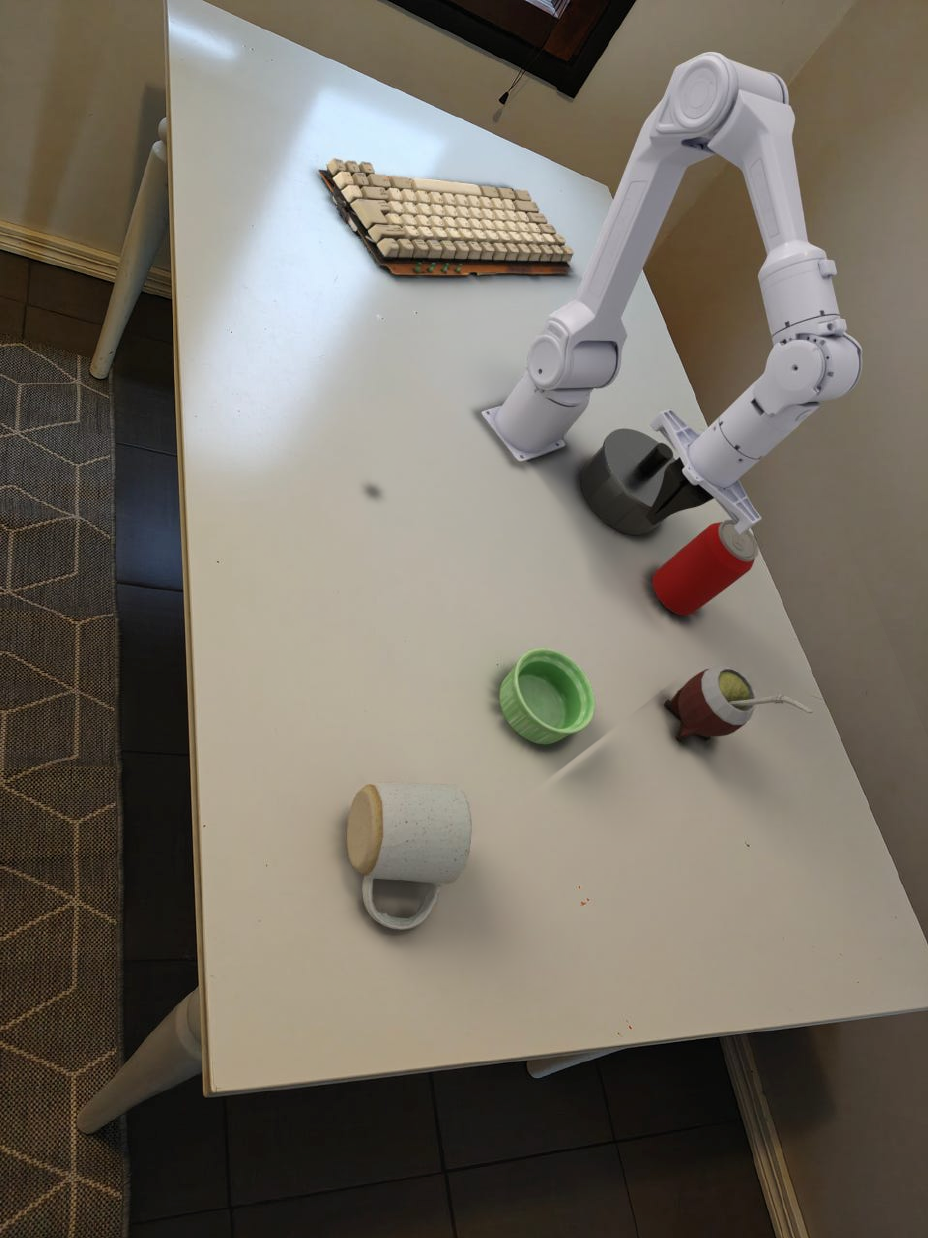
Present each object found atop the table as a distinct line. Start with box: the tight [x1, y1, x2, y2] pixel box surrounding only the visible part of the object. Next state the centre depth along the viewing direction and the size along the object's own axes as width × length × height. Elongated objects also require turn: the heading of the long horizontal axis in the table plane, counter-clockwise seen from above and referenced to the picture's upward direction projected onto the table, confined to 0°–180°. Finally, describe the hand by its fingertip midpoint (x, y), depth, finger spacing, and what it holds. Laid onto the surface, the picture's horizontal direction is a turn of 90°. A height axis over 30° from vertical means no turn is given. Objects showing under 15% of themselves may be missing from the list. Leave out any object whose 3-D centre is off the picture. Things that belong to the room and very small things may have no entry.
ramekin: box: [499, 647, 596, 745], centre depth 83 cm, size 9×9×4 cm
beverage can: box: [652, 519, 759, 616], centre depth 99 cm, size 7×7×12 cm
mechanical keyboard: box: [317, 157, 575, 276], centre depth 121 cm, size 38×19×3 cm, turn 125°
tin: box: [579, 445, 661, 536], centre depth 107 cm, size 12×12×5 cm
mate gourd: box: [663, 666, 814, 743], centre depth 88 cm, size 8×8×15 cm
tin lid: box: [601, 428, 676, 509], centre depth 103 cm, size 13×13×5 cm
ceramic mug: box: [346, 781, 473, 931], centre depth 66 cm, size 11×8×8 cm
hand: (653, 518), depth 92 cm, fingers closed
